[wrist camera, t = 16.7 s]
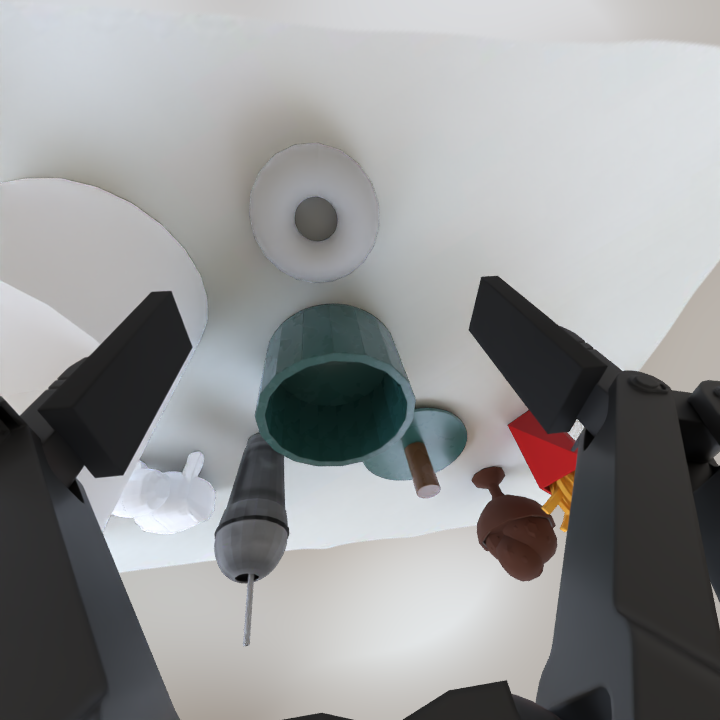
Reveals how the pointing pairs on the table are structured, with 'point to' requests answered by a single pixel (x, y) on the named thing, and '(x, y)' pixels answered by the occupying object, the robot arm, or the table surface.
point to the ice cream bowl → (514, 529)
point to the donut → (314, 179)
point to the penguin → (167, 497)
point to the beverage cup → (253, 521)
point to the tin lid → (422, 450)
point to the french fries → (548, 461)
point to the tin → (333, 388)
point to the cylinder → (81, 291)
